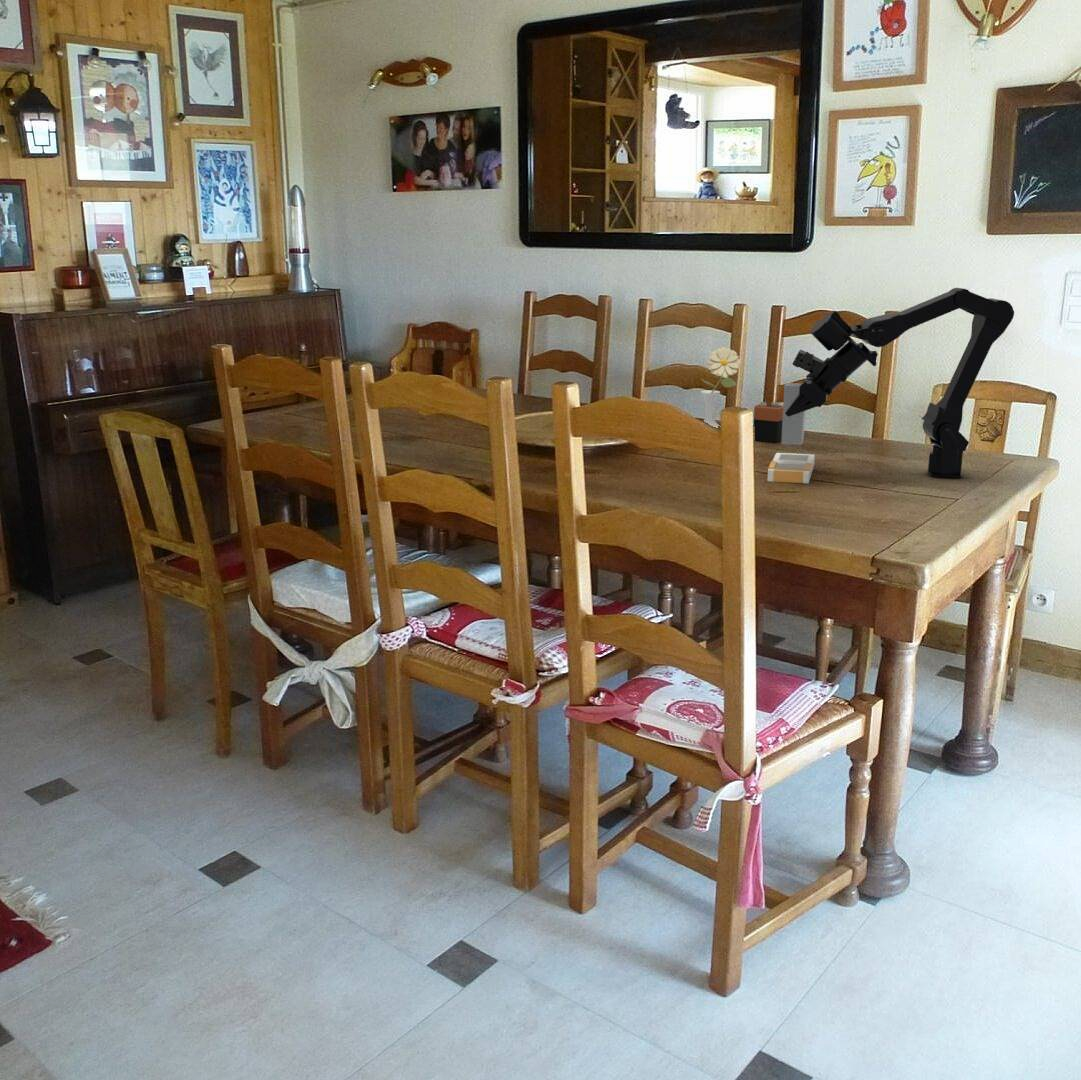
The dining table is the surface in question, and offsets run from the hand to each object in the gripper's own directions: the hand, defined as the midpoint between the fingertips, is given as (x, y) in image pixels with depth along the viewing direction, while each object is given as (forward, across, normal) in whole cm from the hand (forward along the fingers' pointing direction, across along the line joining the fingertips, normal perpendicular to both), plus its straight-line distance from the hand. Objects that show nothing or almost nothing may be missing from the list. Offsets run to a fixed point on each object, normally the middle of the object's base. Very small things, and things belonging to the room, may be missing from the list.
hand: (787, 413), depth 239 cm
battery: (+16, -36, +4) cm, 40 cm away
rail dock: (+9, 0, +11) cm, 14 cm away
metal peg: (+4, 0, +6) cm, 7 cm away
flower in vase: (+25, -26, -5) cm, 36 cm away
